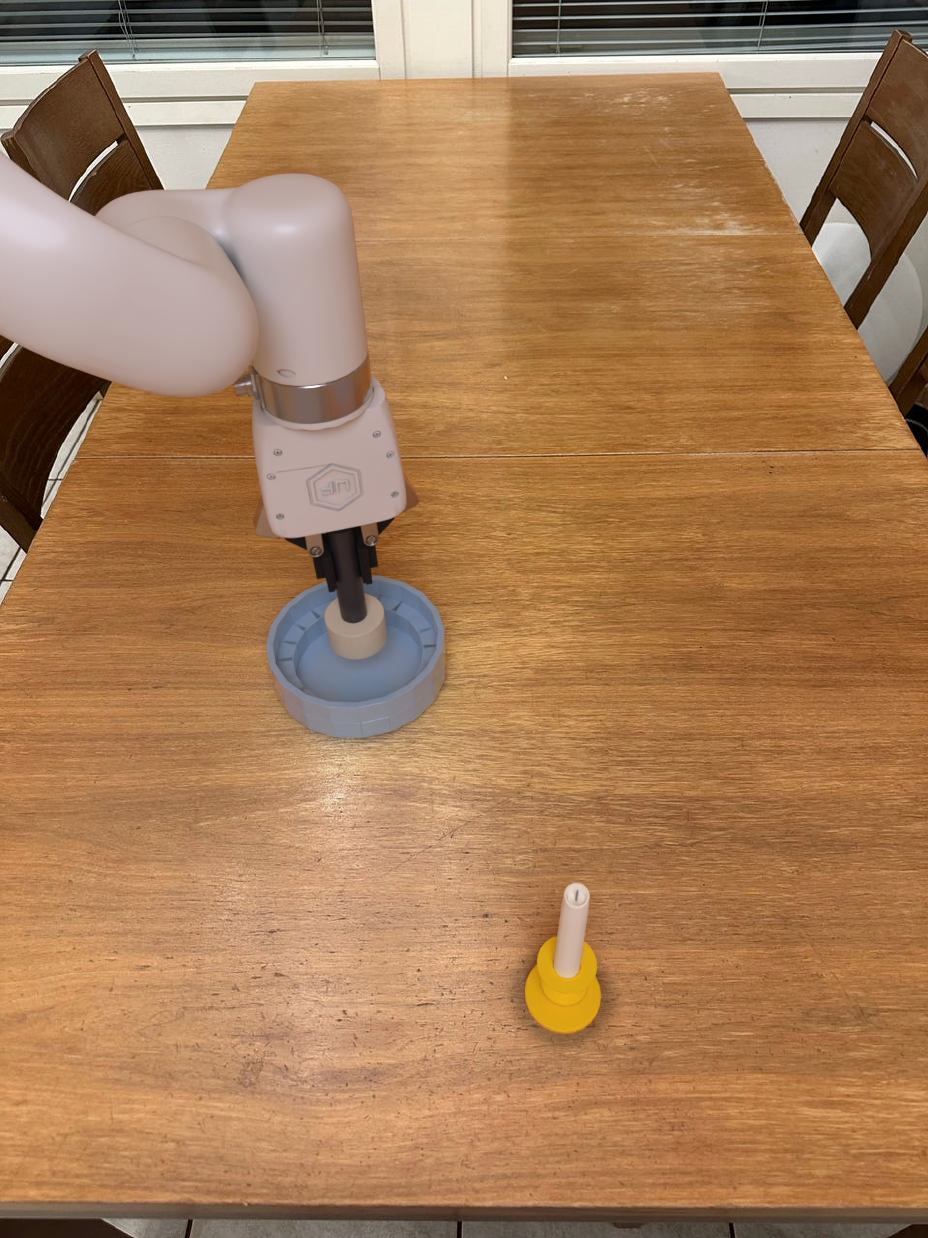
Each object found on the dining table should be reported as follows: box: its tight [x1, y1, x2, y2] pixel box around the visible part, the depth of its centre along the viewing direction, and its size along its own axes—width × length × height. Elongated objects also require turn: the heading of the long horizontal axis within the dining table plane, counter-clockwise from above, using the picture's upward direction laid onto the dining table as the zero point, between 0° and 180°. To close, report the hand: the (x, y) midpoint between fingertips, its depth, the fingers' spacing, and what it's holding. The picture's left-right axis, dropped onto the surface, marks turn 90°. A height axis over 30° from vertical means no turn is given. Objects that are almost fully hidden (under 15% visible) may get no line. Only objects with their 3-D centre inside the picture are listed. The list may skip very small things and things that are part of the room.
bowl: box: [265, 574, 447, 739], centre depth 83 cm, size 15×15×5 cm
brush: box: [324, 527, 387, 660], centre depth 77 cm, size 5×5×13 cm
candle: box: [524, 882, 602, 1035], centre depth 59 cm, size 5×5×16 cm
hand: (347, 575), depth 76 cm, fingers closed on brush
